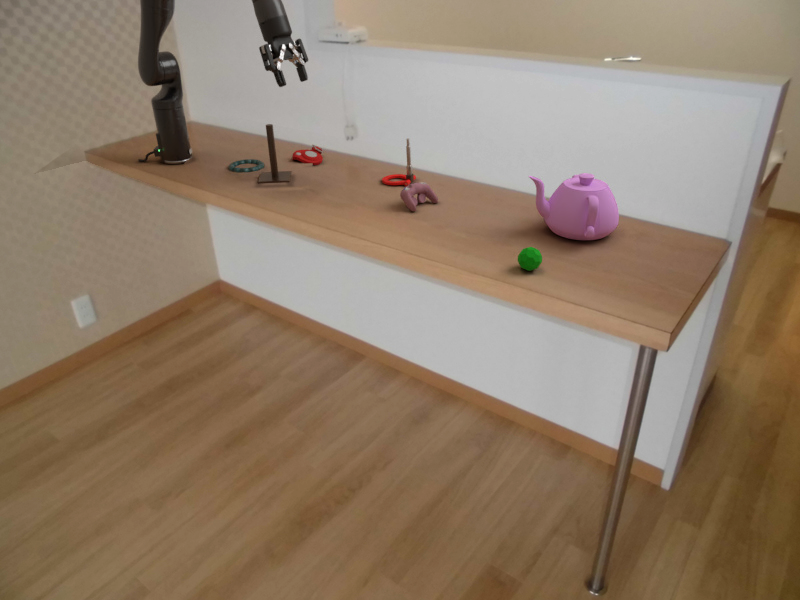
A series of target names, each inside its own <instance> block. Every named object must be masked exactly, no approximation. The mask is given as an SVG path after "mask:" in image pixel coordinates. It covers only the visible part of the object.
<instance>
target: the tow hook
mask: <svg viewBox="0 0 800 600" xmlns="http://www.w3.org/2000/svg"><path fill="white" fill-rule="evenodd" d="M405 148H406V149H405V150H406V152H405V153H406V165H405V166H406V167H405V168H406V174H403V173H402V174H401V173H397V174H388V175H386V176H383V177H382V178H381V182H382V184H384V185H387V186H404V187H407V186H408V185H410V184H412V183H414V181H415V180H416V179H417V176H416V175H415V174H414V173H413V165H412V156H411V155H412V150H411V143H410V138H406V146H405ZM392 179H402V180H396V181H394V180H392Z"/></svg>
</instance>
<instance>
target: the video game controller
mask: <svg viewBox="0 0 800 600" xmlns="http://www.w3.org/2000/svg"><path fill="white" fill-rule="evenodd" d="M415 195H417V196H416V197H415ZM399 196H400V199H401V201H403V203H404V204H405V206H406V208H407V209H408V210H409V211H411V212H414V213H415V212H416V211H417V205H418V204H424V203H425V202H426V200H427V199H428V200H429V201H430V202H431V203H434V204H437V203H438V202H439V198H438V196H437V194H436V193H435V191H434V190H433V189H432V188H431V186H430V185H429V184H428V183H426V182H425V181H424V182H421V181H420V182H419V181H417V182H412V183H411V184H409V185H408V186H404V188H403V189H401V191H400V193H399ZM426 198H427V199H426Z"/></svg>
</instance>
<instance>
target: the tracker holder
mask: <svg viewBox="0 0 800 600" xmlns="http://www.w3.org/2000/svg"><path fill="white" fill-rule="evenodd" d="M322 154H324V151H323V149H322V147H320V146H317V145H315V144H311V149H298V150H295V151H294V152H293V153H292V157H291V161H293V162H294V161H295V160H297V161H299V162H301V163H303V164H312V166H319V165H321V164H322V162H323V160H324V157H323V155H322Z"/></svg>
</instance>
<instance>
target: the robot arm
mask: <svg viewBox="0 0 800 600" xmlns="http://www.w3.org/2000/svg"><path fill="white" fill-rule="evenodd" d="M251 2H252V3H251V4H252V6H253V12H254V14H255V18H256V21H257V23H258V26H259V29H260V33H261V35H262V39H263V41H264V42H266V43H265V44H263V45H261V46H259V47H258V49H259V53H260V57H261V59H262V64H263V66H264V70H265V71H266V72H271V73H273V76H274V80H275V82H276V84H277V86H278V87H279V88H283V87H285V86H287V80H286V78H285V75H284V73H283V70H282V64H283V62H284V61H289V62H290V63H292V64H293V65H294V66H295V67H296V68H295V69H296V73H297V75H298V79H299V81H300V82H301V83H303V82H306V81H308V78H309V77H308V73H307V70H306V67H305V65H306V64H307V62H309V57H308V54H307V50H306V48H305V46H304V43H303V40H302V39H301V38H297V39H295V40H294V39H292V34H293V30H292V27H291V24H290V21H289V18H288V14H287V11H286V9H285V6H284V3H283V0H251ZM139 5H140V6H139V7H140V30H139V31H140V34H139V44H138V54H137V70H138V74H139V77H140V79H141V81H142V83H143V84H144V85H146V86H147V87H157V86H161V88H160V90H159V91H158V93H156V94H155V95H154V96H152V98H151V100H150V104H151V108H152V113H153V118H154V123H155V127H156V128H155V129H156V133H155V137H156V142H157V146H155V147H154V149H153V151H150V152H148V153H147V154H146V155H145V158H144V159H143V158H138V159H137V160H138V161H137V162H141V163H146V162H147V161H148V159H149V156H151V155H154V158H155V157H157V158H158V157H159V158H160V163H161V164H167V165H182V164H185V163H186V162H187V161H189V160H191V159H192V158H193V156H194V155H193V148H192V147H191V141H190V137H189V131H188V125H187V119H186V114H185V109H184V108H185V107H184V103H183V100H184V90H183V83H182V75H181V69H180V65H179V62H178V59H177V58H176V56H175V55H174V54H173V53H172V52H170V51H168V50H167V51H165V50H163V51H160V46H161V42H162V39H163V36H164V34H165V32H166V31H167V29H168V27H169V25H170V24H171V22H172V19H173V17H174V15H175V11H176V10H175V9H176V0H139Z"/></svg>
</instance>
